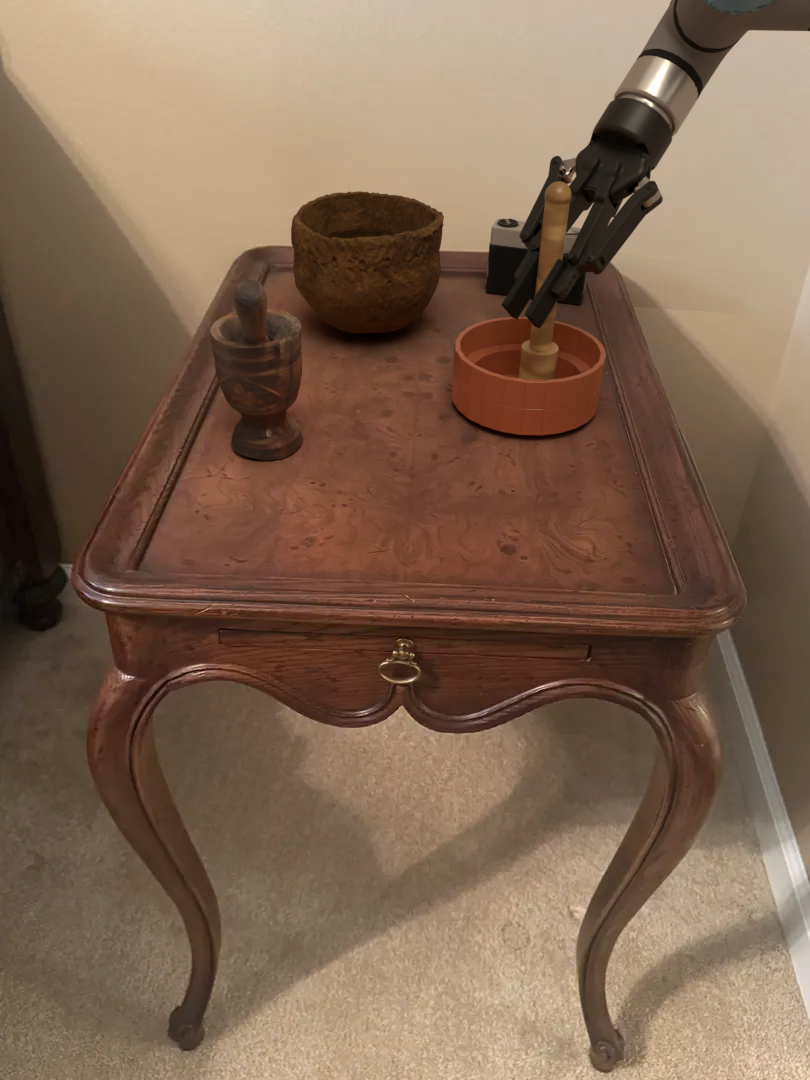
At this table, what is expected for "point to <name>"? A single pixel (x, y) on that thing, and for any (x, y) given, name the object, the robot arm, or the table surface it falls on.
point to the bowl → (367, 259)
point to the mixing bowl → (521, 404)
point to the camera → (520, 259)
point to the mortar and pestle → (259, 372)
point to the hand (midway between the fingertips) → (520, 316)
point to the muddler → (540, 348)
